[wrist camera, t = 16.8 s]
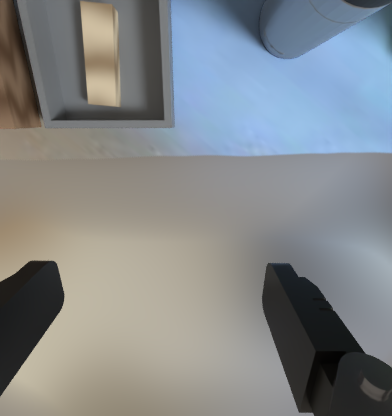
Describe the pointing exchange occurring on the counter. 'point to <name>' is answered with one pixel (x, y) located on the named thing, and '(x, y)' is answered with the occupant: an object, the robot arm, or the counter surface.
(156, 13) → the charcoal tray
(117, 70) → the maple bar
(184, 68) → the counter surface
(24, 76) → the walnut pocket board
